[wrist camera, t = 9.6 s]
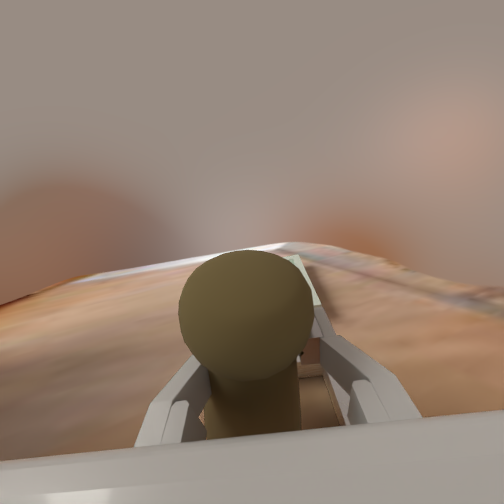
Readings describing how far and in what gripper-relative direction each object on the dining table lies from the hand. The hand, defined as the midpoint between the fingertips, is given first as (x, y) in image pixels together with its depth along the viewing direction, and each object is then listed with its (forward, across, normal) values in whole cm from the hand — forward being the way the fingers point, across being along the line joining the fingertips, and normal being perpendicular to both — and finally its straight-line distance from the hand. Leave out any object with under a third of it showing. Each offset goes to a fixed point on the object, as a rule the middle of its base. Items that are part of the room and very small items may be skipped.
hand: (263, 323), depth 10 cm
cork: (-1, -2, -7) cm, 7 cm away
